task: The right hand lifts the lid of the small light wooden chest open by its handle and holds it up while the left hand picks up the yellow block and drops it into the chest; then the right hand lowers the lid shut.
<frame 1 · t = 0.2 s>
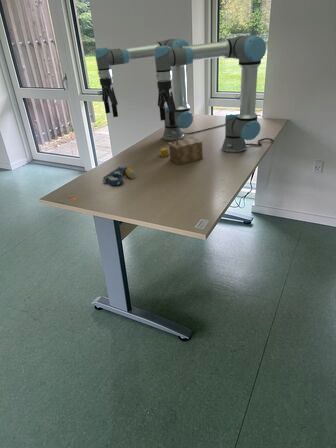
left hand: (111, 114, 206), 28 cm above the table, tool pointing down, fingers open, 13 cm apart
right hand: (167, 122, 180), 28 cm above the table, tool pointing down, fingers open, 13 cm apart
block: (164, 155, 217), on the table
lid: (184, 136, 202), point 14 cm above the table, hinge at -0.1°
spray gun: (121, 179, 190), on the table
chest: (186, 159, 209), on the table
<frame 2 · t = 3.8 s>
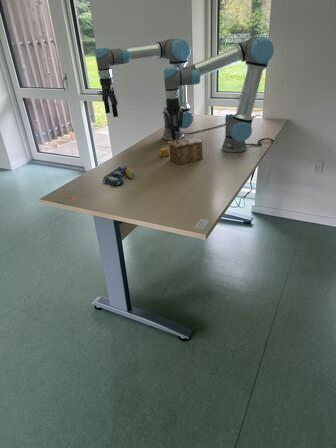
left hand: (111, 114, 206), 28 cm above the table, tool pointing down, fingers open, 13 cm apart
right hand: (175, 139, 199), 14 cm above the table, tool pointing down, fingers closed on lid, 2 cm apart
lid: (184, 136, 201), point 15 cm above the table, hinge at 2.9°, touching right hand
everything else where it was.
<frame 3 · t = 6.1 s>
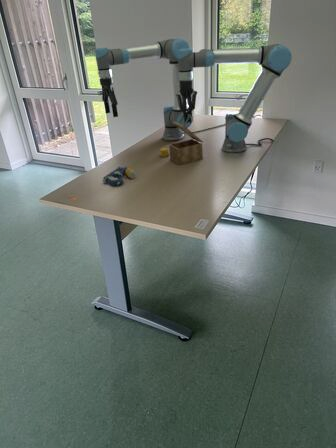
left hand: (111, 114, 206), 28 cm above the table, tool pointing down, fingers open, 13 cm apart
right hand: (187, 122, 198), 22 cm above the table, tool pointing down, fingers closed on lid, 2 cm apart
lid: (191, 126, 201), point 19 cm above the table, hinge at 43.7°, touching right hand
everything else where it was.
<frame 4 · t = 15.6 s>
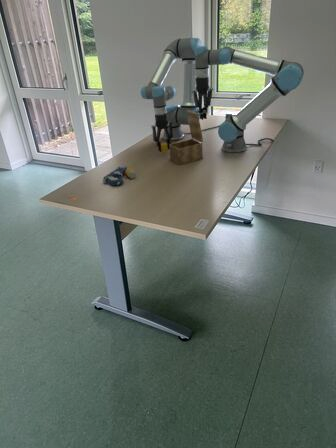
left hand: (164, 150, 216), 4 cm above the table, tool pointing down, fingers closed on block, 5 cm apart
right hand: (203, 118, 202), 23 cm above the table, tool pointing down, fingers closed on lid, 2 cm apart
block: (164, 150, 216), point 3 cm above the table, touching left hand
lid: (199, 123, 203), point 20 cm above the table, hinge at 80.1°, touching right hand
everything else where it was.
when the left hand's fingers open (17 cm above the table, at t = 19.2 s): block drops 16 cm, resting on chest.
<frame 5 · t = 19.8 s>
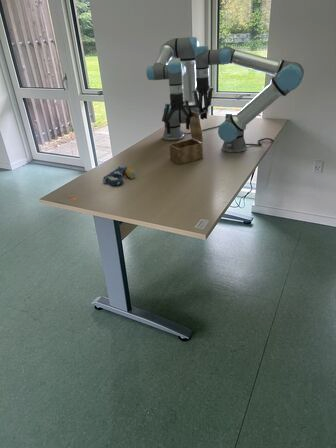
left hand: (178, 131, 198), 18 cm above the table, tool pointing down, fingers open, 12 cm apart
right hand: (203, 118, 202), 23 cm above the table, tool pointing down, fingers closed on lid, 2 cm apart
block: (180, 159, 207), point 1 cm above the table, touching chest
lid: (200, 123, 203), point 20 cm above the table, hinge at 81.6°, touching left hand, right hand
chest: (186, 158, 209), on the table, touching block
everything else where it was.
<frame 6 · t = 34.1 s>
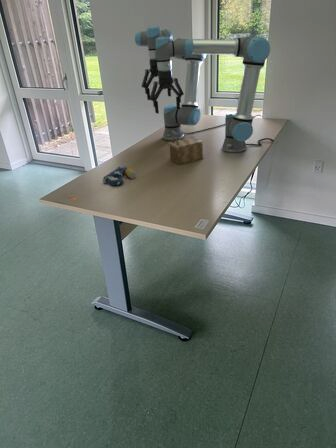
left hand: (159, 98, 199), 36 cm above the table, tool pointing down, fingers open, 13 cm apart
right hand: (167, 111, 189), 31 cm above the table, tool pointing down, fingers open, 13 cm apart
lid: (184, 136, 202), point 14 cm above the table, hinge at -0.1°
everything else where it was.
at the end: block inside the target area in the chest (4.1 cm from its centre), point 0.8 cm above the chest's base; lid at +0° (first picture: +0°); the left hand is holding nothing; the right hand is holding nothing; chest tilted 0°; chest moved 0.2 cm from its start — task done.
